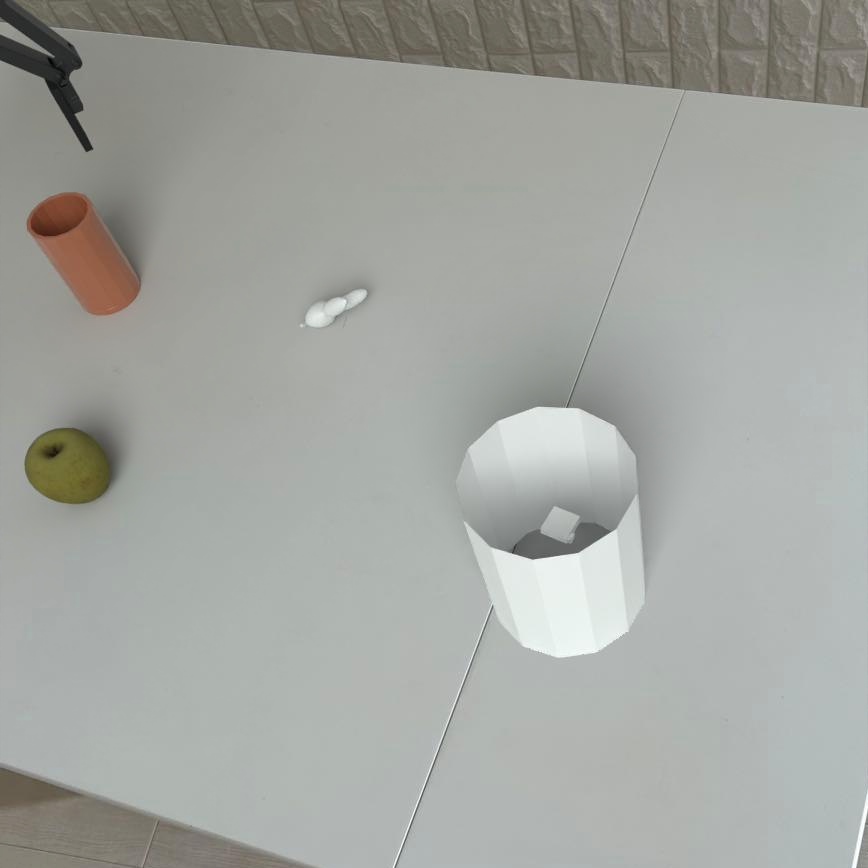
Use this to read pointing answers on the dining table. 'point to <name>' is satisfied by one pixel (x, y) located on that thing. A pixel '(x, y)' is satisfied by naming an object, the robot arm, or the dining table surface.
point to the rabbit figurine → (332, 309)
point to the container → (556, 527)
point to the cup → (83, 252)
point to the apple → (67, 466)
